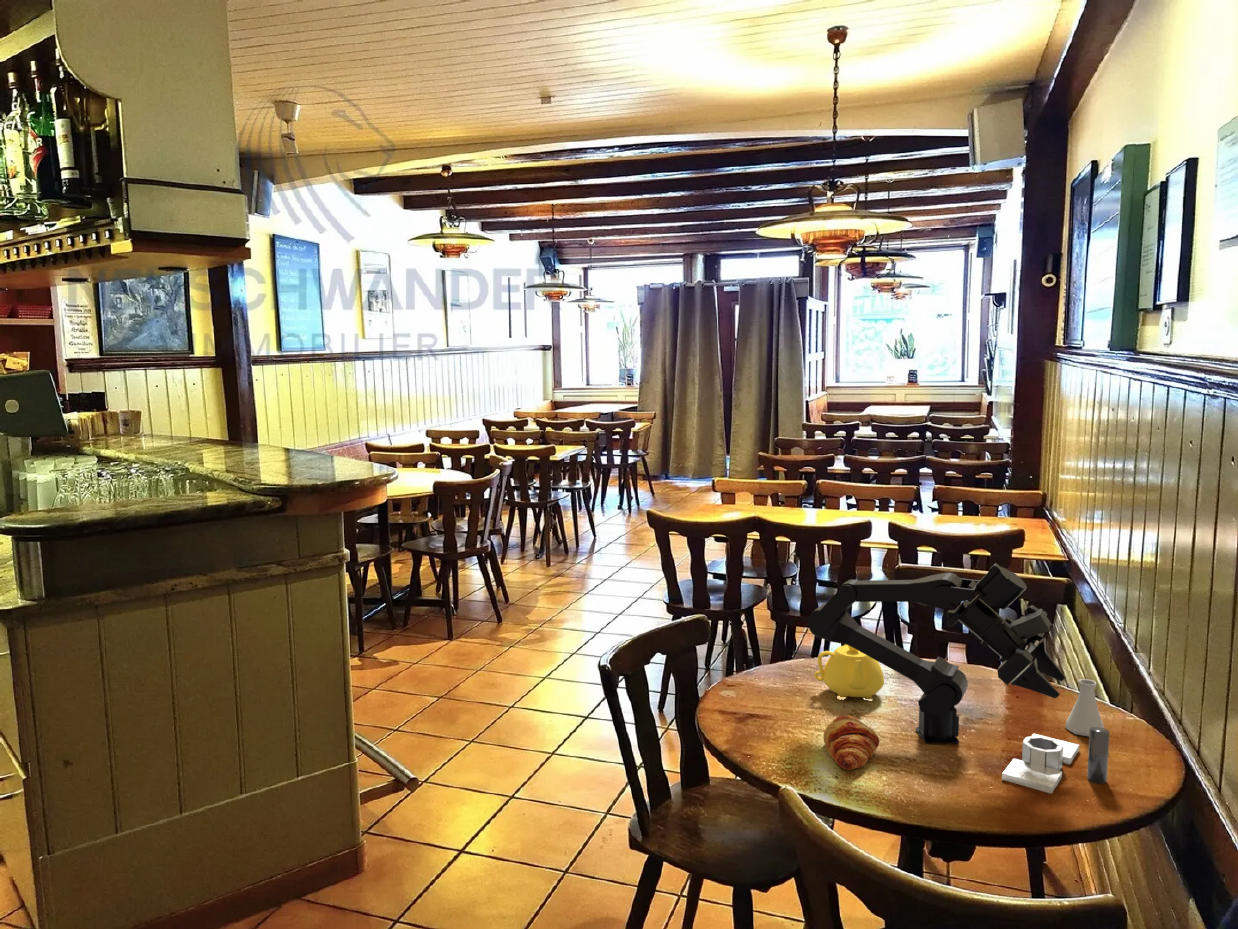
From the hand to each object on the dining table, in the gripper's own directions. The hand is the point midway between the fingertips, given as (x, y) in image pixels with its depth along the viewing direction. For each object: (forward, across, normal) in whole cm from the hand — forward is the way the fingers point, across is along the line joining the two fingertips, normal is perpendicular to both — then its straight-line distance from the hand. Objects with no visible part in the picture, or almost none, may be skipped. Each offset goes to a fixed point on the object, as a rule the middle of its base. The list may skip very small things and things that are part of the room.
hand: (1060, 687), depth 155 cm
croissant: (-18, -15, +32) cm, 39 cm away
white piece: (+7, -2, +13) cm, 15 cm away
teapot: (-25, +12, +37) cm, 47 cm away
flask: (+11, +18, +10) cm, 23 cm away
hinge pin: (+14, -3, +7) cm, 16 cm away
